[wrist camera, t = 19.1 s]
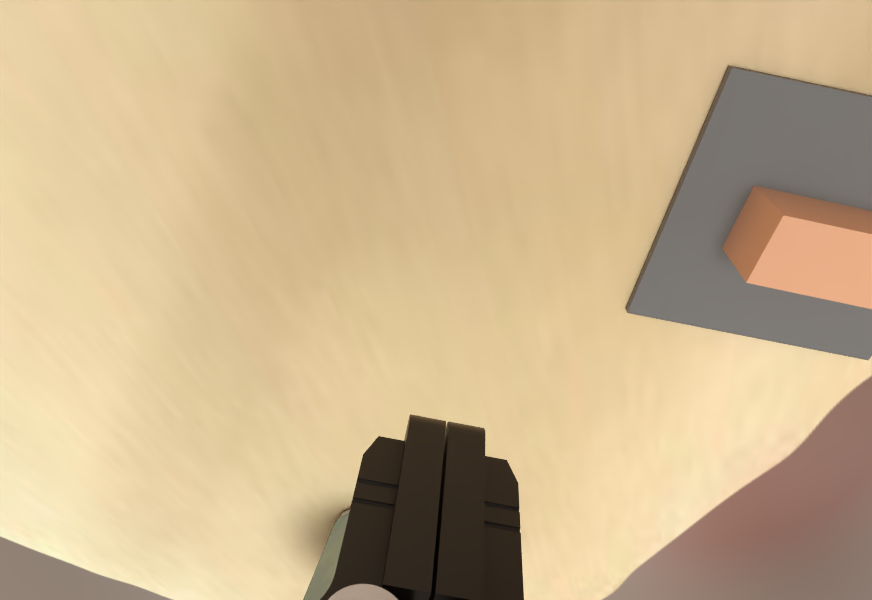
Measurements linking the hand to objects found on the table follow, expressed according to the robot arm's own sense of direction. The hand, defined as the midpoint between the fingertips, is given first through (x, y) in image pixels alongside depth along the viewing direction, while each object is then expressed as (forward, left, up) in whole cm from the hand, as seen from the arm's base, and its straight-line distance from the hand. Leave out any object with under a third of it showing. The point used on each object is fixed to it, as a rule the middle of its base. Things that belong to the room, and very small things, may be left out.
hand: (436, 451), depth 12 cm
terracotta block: (+4, +18, -26) cm, 32 cm away
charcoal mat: (+4, +23, -29) cm, 37 cm away
